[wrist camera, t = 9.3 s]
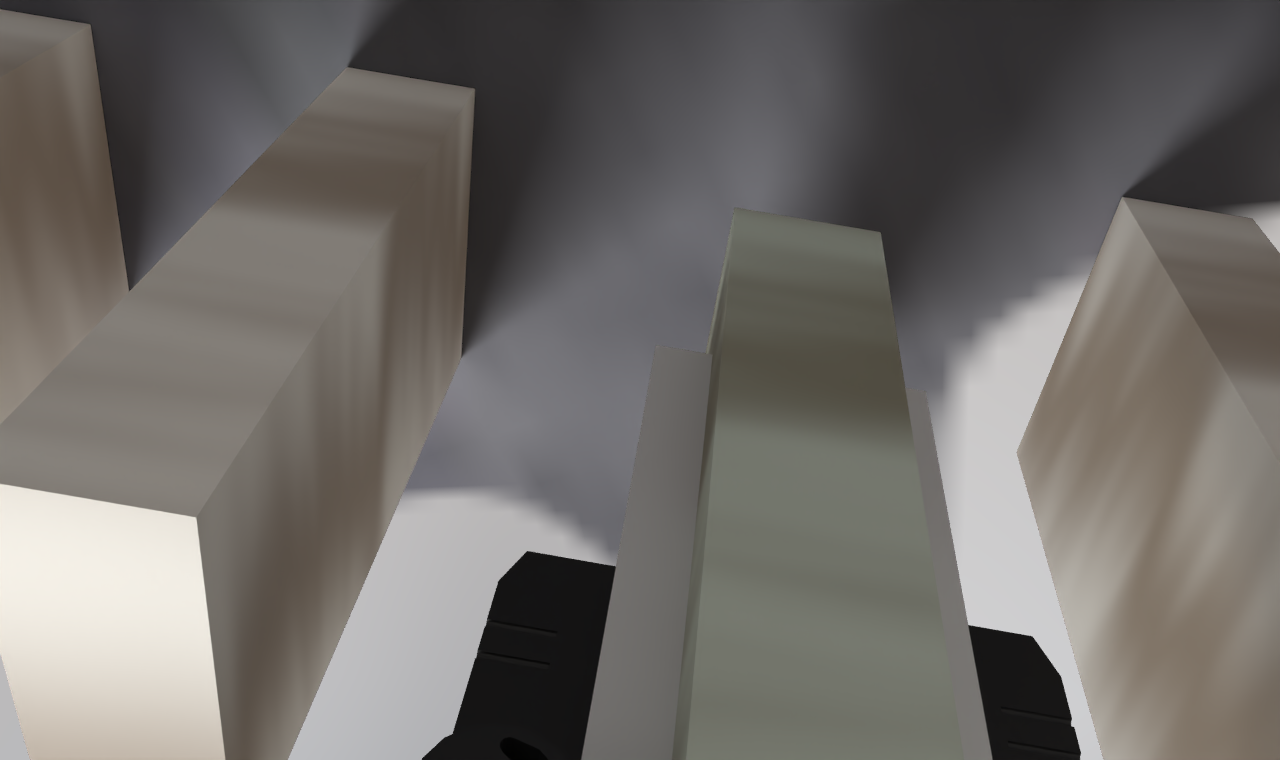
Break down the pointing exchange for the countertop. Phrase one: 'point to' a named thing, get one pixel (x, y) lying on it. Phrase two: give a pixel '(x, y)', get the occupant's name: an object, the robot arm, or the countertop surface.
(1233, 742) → the domino
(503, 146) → the countertop surface
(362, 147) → the domino
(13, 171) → the domino
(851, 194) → the countertop surface
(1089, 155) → the countertop surface
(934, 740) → the domino
